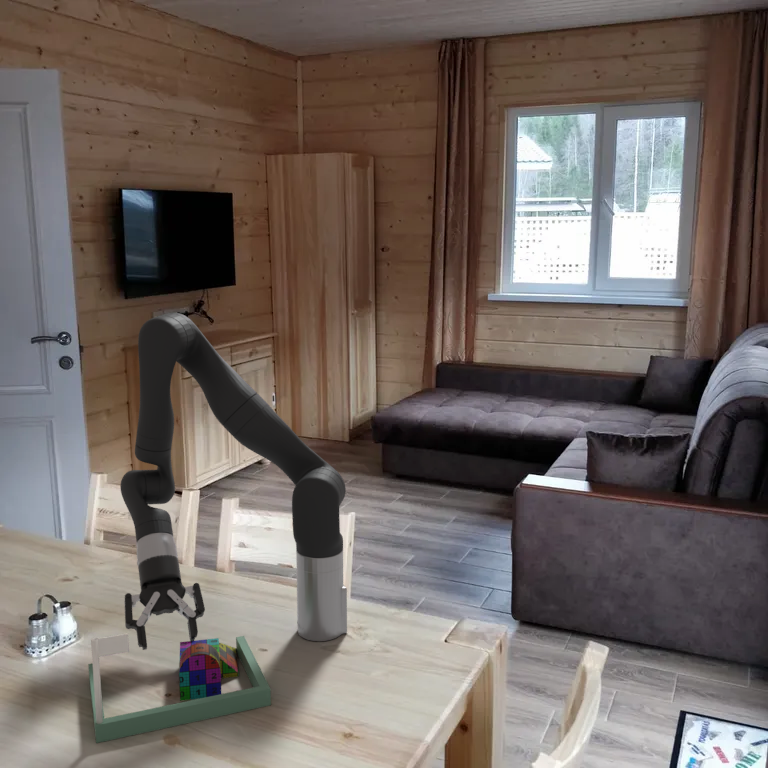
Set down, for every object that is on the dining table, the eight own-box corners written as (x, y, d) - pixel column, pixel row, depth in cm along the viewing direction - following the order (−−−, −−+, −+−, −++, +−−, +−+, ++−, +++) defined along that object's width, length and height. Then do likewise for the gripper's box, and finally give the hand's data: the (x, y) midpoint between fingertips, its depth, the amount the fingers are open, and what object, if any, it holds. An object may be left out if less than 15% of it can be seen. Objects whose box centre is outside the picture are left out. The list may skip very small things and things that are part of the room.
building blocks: (240, 694, 142) (239, 649, 141) (180, 702, 140) (178, 656, 138) (236, 652, 157) (235, 610, 155) (181, 658, 154) (179, 616, 153)
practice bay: (244, 650, 157) (241, 566, 154) (270, 705, 139) (268, 611, 136) (89, 679, 146) (83, 590, 143) (96, 743, 128) (89, 642, 125)
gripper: (120, 559, 152) (129, 644, 144) (197, 548, 158) (210, 630, 149) (119, 575, 158) (127, 658, 150) (193, 564, 164) (206, 643, 155)
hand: (169, 644), depth 150 cm, fingers open, 8 cm apart
